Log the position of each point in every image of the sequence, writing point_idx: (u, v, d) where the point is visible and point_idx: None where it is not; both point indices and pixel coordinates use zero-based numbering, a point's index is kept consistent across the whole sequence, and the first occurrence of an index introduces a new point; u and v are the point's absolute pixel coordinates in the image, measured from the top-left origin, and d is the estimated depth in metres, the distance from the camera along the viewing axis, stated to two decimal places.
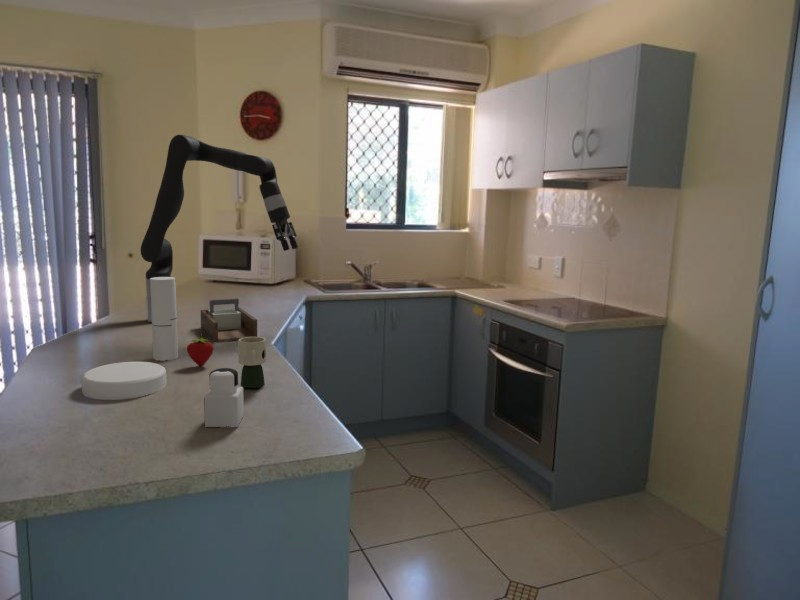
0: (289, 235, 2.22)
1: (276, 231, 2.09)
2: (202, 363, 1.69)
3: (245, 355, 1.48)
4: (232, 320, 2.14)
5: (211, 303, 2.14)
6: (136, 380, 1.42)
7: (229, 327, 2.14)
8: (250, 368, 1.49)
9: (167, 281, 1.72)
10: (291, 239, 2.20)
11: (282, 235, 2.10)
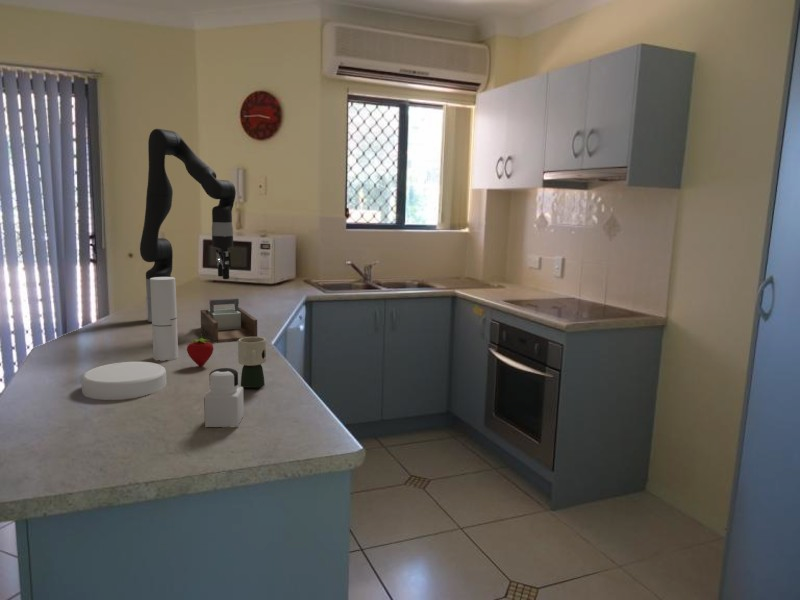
0: (217, 261, 2.19)
1: (226, 259, 2.08)
2: (202, 363, 1.69)
3: (245, 355, 1.48)
4: (232, 320, 2.14)
5: (211, 303, 2.14)
6: (136, 380, 1.42)
7: (229, 327, 2.14)
8: (250, 368, 1.49)
9: (167, 281, 1.72)
10: (220, 266, 2.18)
11: None
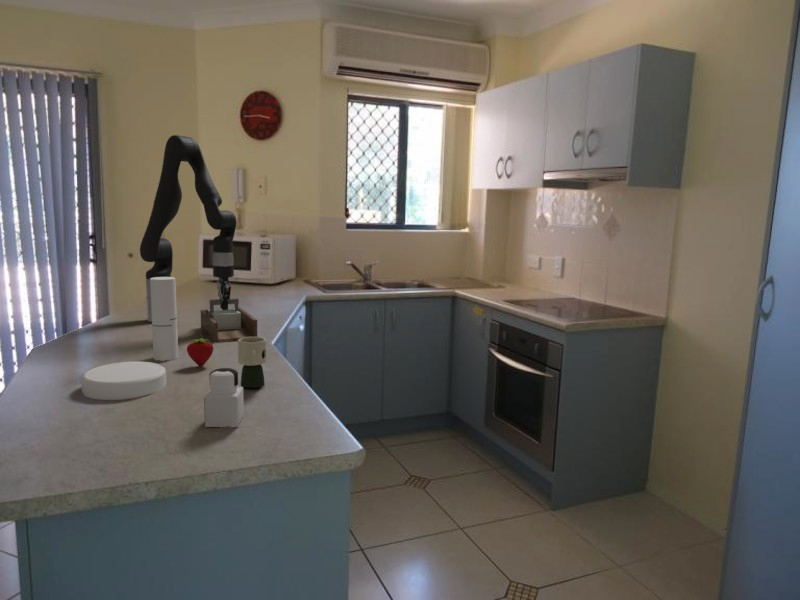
0: (219, 293, 2.19)
1: (226, 293, 2.11)
2: (202, 363, 1.69)
3: (245, 355, 1.48)
4: (232, 320, 2.14)
5: (211, 303, 2.14)
6: (136, 380, 1.42)
7: (229, 327, 2.14)
8: (250, 368, 1.49)
9: (167, 281, 1.72)
10: None
11: None
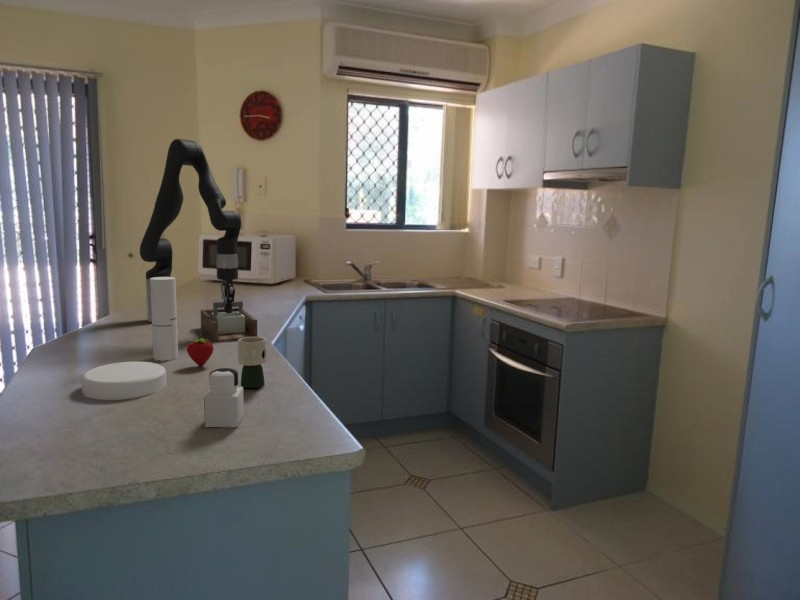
0: (222, 295, 2.13)
1: (230, 296, 2.06)
2: (202, 363, 1.69)
3: (245, 355, 1.48)
4: (236, 323, 2.09)
5: (215, 306, 2.08)
6: (136, 380, 1.42)
7: (233, 331, 2.09)
8: (250, 368, 1.49)
9: (167, 281, 1.72)
10: None
11: (233, 299, 2.08)
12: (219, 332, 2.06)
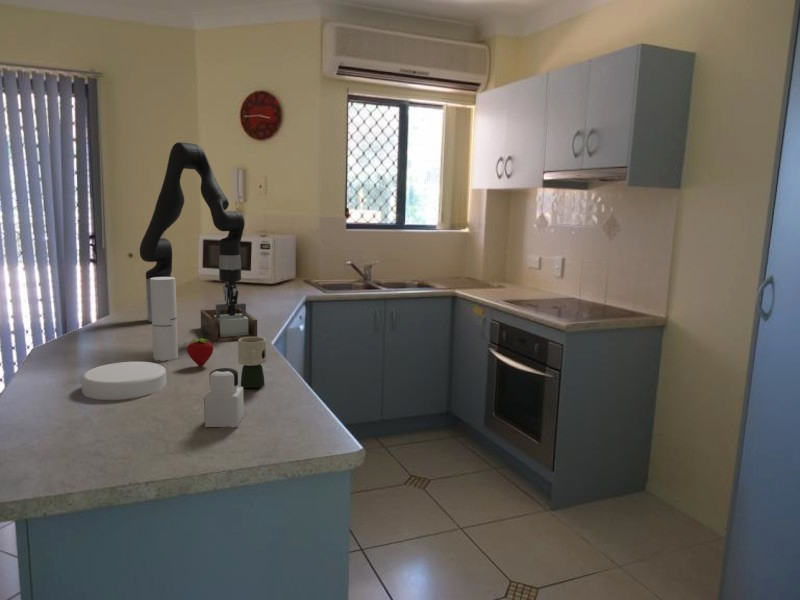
0: (225, 297, 2.09)
1: (233, 298, 2.02)
2: (202, 363, 1.69)
3: (245, 355, 1.48)
4: (239, 326, 2.05)
5: (217, 308, 2.04)
6: (136, 380, 1.42)
7: (236, 333, 2.05)
8: (250, 368, 1.49)
9: (167, 281, 1.72)
10: None
11: (236, 301, 2.04)
12: (222, 335, 2.02)
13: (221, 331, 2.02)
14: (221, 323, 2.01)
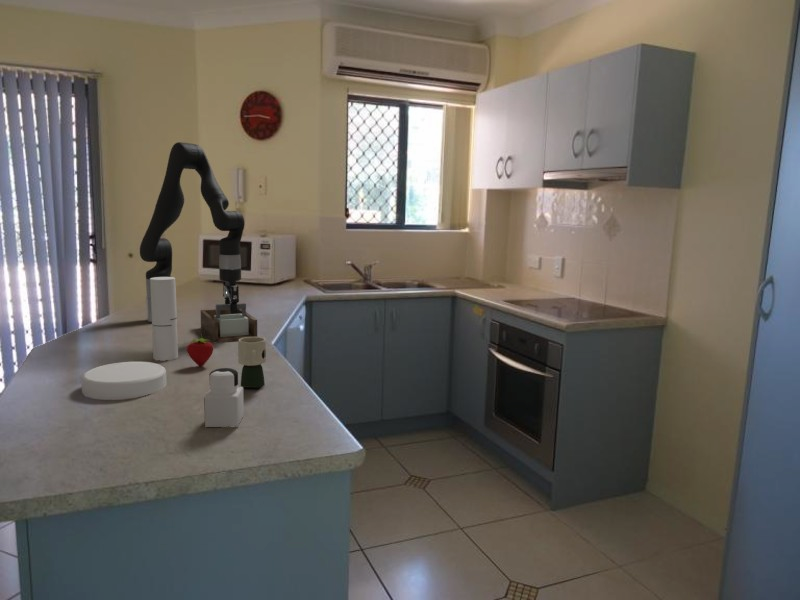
0: (224, 293, 2.11)
1: (234, 294, 2.00)
2: (202, 363, 1.69)
3: (245, 355, 1.48)
4: (239, 326, 2.05)
5: (217, 308, 2.04)
6: (136, 380, 1.42)
7: (236, 333, 2.04)
8: (250, 368, 1.49)
9: (167, 281, 1.72)
10: (227, 299, 2.10)
11: None
12: (222, 335, 2.02)
13: (221, 331, 2.02)
14: (221, 323, 2.01)
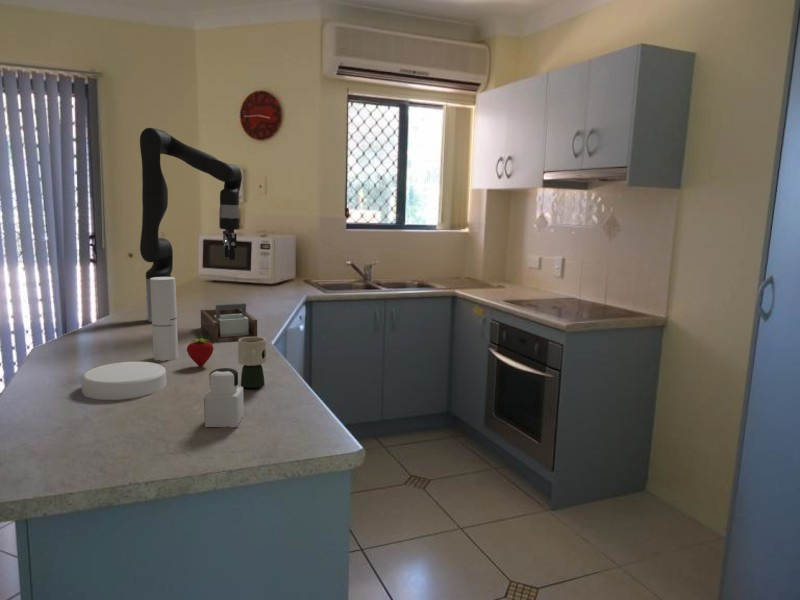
0: (223, 242, 2.27)
1: (232, 240, 2.16)
2: (202, 363, 1.69)
3: (245, 355, 1.48)
4: (239, 326, 2.05)
5: (217, 308, 2.04)
6: (136, 380, 1.42)
7: (236, 333, 2.04)
8: (250, 368, 1.49)
9: (167, 281, 1.72)
10: (227, 247, 2.26)
11: None
12: (222, 335, 2.02)
13: (221, 331, 2.02)
14: (221, 323, 2.01)
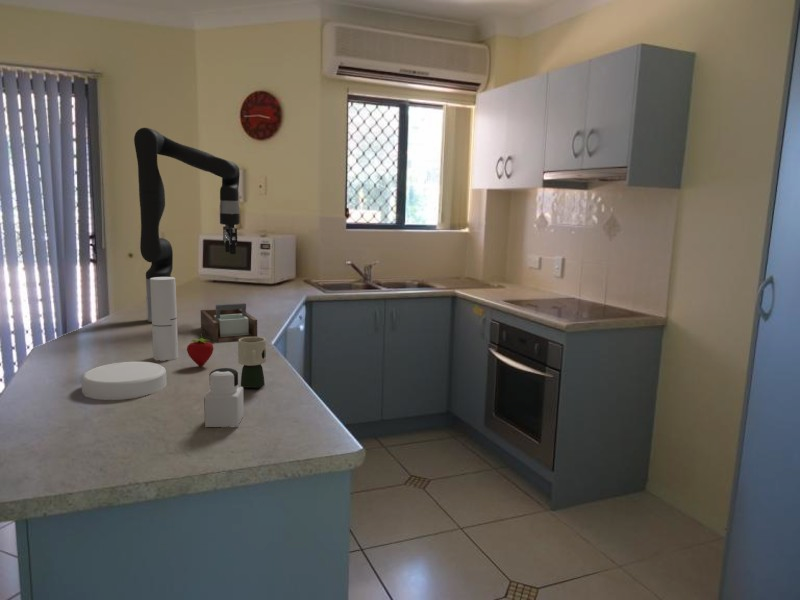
0: (224, 238, 2.33)
1: (233, 235, 2.22)
2: (202, 363, 1.69)
3: (245, 355, 1.48)
4: (239, 326, 2.05)
5: (217, 308, 2.04)
6: (136, 380, 1.42)
7: (236, 333, 2.04)
8: (250, 368, 1.49)
9: (167, 281, 1.72)
10: (227, 242, 2.33)
11: (236, 240, 2.24)
12: (222, 335, 2.02)
13: (221, 331, 2.02)
14: (221, 323, 2.01)
